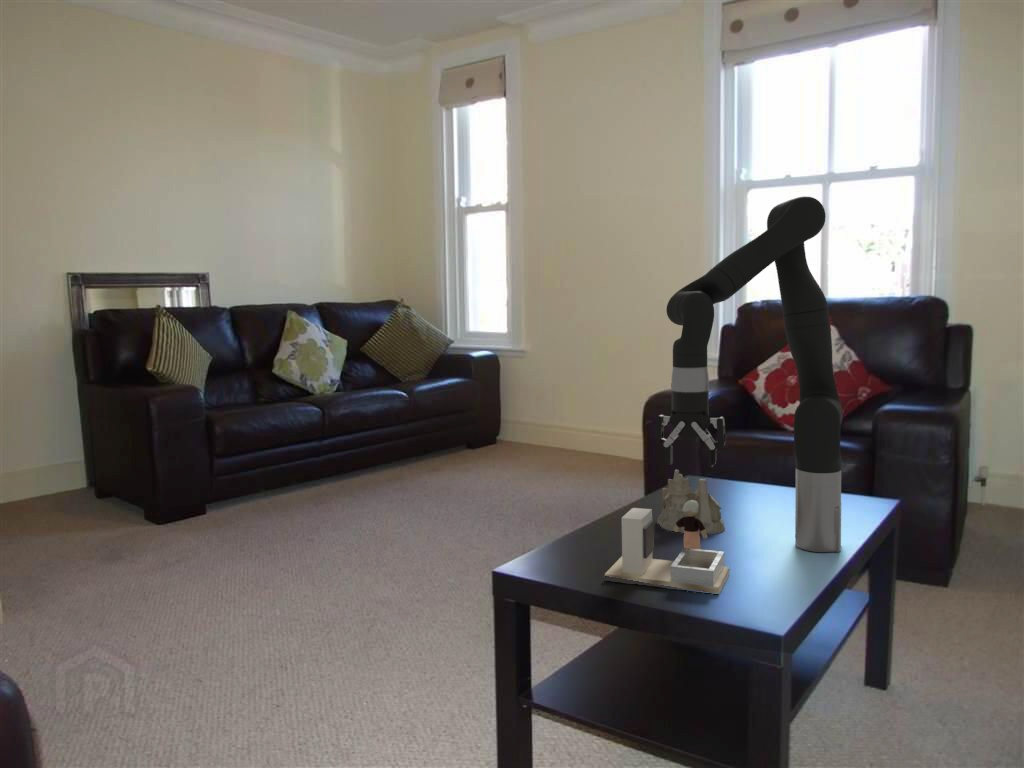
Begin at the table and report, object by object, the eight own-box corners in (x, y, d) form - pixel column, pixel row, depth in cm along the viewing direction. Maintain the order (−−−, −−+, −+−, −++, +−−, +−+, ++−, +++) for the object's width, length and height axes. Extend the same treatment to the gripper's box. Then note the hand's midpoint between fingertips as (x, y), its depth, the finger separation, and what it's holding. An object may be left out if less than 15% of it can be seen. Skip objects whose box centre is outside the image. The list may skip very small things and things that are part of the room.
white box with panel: (655, 562, 161) (654, 509, 160) (645, 575, 154) (644, 519, 152) (633, 560, 163) (632, 507, 162) (622, 572, 155) (621, 517, 154)
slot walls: (724, 566, 157) (724, 551, 157) (713, 586, 146) (713, 571, 146) (684, 562, 160) (683, 547, 160) (670, 581, 150) (670, 566, 149)
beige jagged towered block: (723, 535, 182) (721, 470, 182) (652, 533, 187) (649, 470, 187) (728, 521, 197) (725, 461, 196) (661, 520, 202) (659, 462, 202)
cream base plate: (729, 574, 157) (729, 566, 157) (719, 595, 146) (719, 587, 146) (622, 562, 166) (622, 555, 166) (604, 581, 155) (604, 574, 155)
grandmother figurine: (712, 558, 166) (711, 500, 165) (706, 564, 163) (705, 504, 162) (677, 553, 171) (676, 496, 169) (670, 558, 167) (670, 500, 166)
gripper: (728, 387, 164) (728, 464, 165) (660, 385, 170) (660, 460, 171) (721, 391, 157) (721, 471, 159) (651, 389, 163) (652, 466, 165)
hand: (690, 465), depth 165 cm, fingers open, 8 cm apart
